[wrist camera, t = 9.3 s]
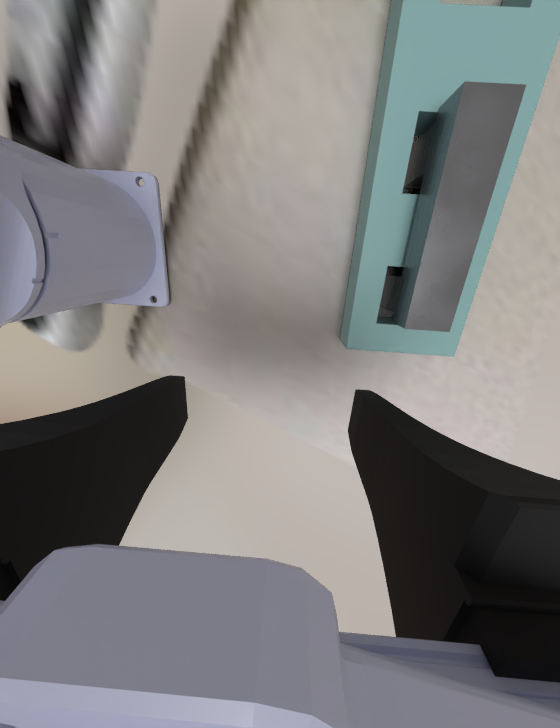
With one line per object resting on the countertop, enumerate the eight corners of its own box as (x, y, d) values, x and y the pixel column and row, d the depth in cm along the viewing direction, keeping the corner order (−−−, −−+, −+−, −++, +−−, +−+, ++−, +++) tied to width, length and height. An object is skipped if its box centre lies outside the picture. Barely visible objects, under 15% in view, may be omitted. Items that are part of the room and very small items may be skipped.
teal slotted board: (434, 344, 19) (453, 356, 17) (339, 338, 20) (346, 348, 17) (568, -109, 12) (637, -202, 9) (408, -116, 12) (437, -208, 9)
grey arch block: (376, 311, 19) (404, 328, 14) (411, 136, 15) (464, 81, 10) (410, 313, 19) (449, 332, 14) (454, 138, 15) (526, 84, 10)
